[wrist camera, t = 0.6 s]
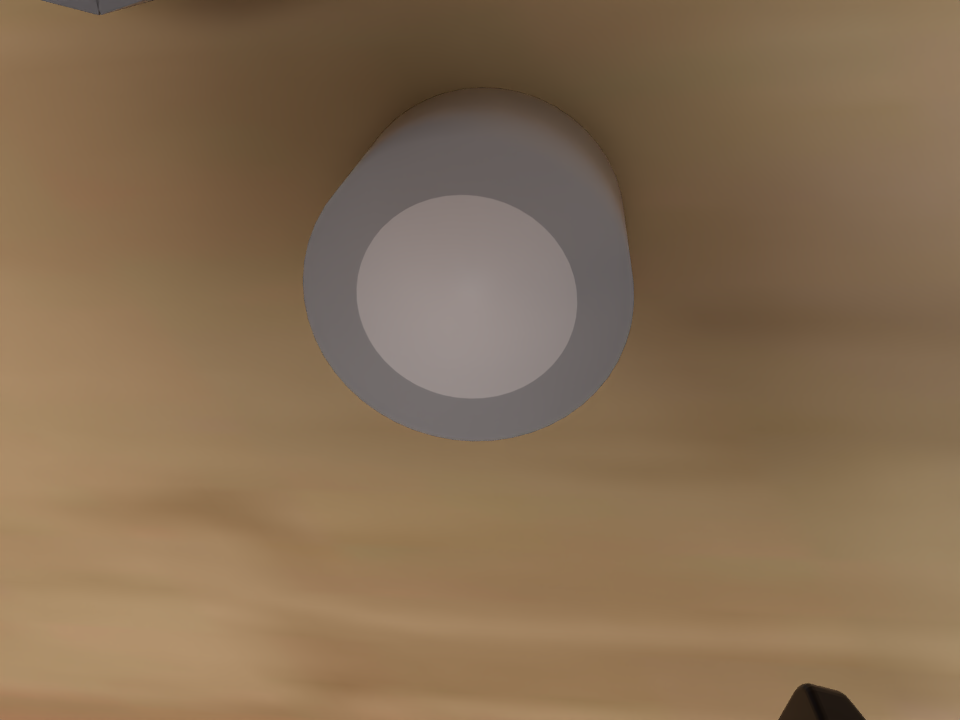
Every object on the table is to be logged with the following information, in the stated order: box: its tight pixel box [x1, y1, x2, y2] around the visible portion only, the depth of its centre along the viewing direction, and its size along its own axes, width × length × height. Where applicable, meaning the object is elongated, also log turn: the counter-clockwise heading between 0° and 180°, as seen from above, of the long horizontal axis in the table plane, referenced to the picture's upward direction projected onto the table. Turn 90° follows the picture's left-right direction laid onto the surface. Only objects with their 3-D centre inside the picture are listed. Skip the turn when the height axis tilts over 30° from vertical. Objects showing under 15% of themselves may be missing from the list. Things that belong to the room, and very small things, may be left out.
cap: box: [303, 88, 634, 441], centre depth 18 cm, size 6×6×4 cm
